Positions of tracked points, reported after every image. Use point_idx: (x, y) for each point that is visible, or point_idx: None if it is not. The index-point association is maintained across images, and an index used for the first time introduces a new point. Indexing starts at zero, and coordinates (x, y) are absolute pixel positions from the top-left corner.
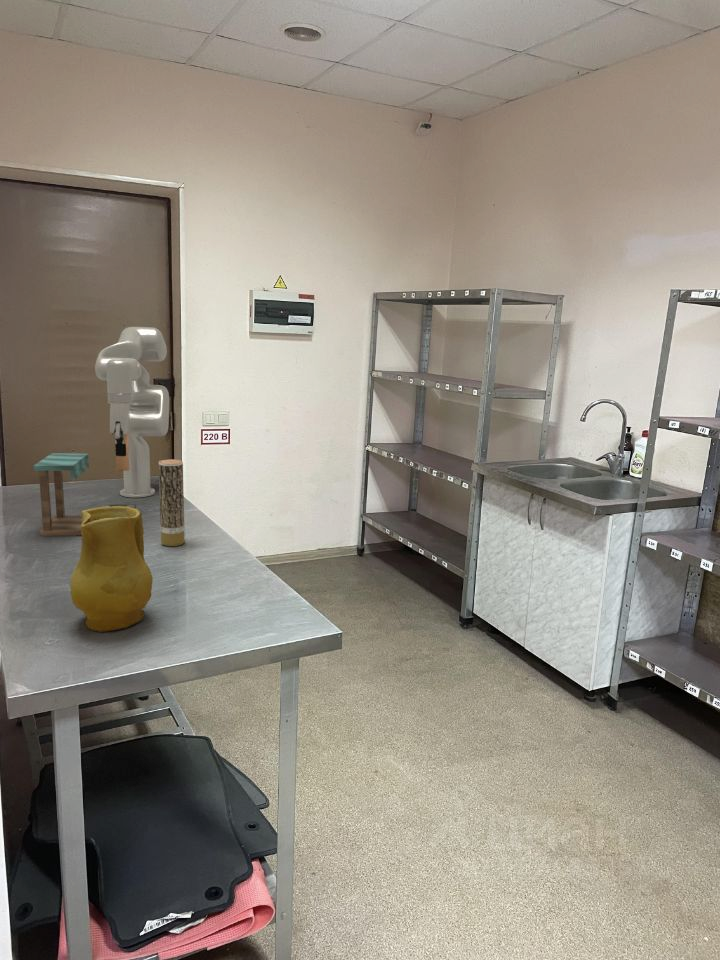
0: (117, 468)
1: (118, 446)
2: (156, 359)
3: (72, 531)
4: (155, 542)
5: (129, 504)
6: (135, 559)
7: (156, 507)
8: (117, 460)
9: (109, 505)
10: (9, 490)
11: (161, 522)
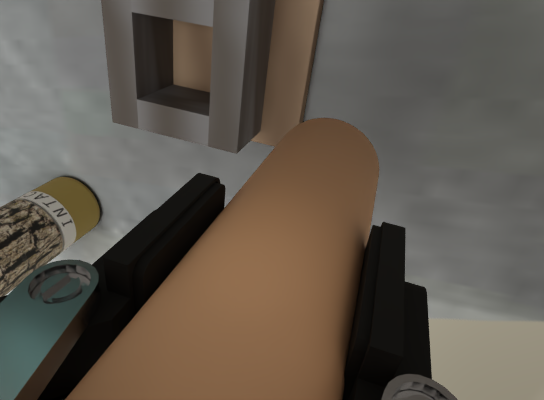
0: (294, 130)
1: (100, 269)
2: None
3: None
4: (80, 162)
5: (224, 124)
6: None
7: (479, 219)
8: (267, 162)
9: (212, 26)
10: None
11: (2, 206)
